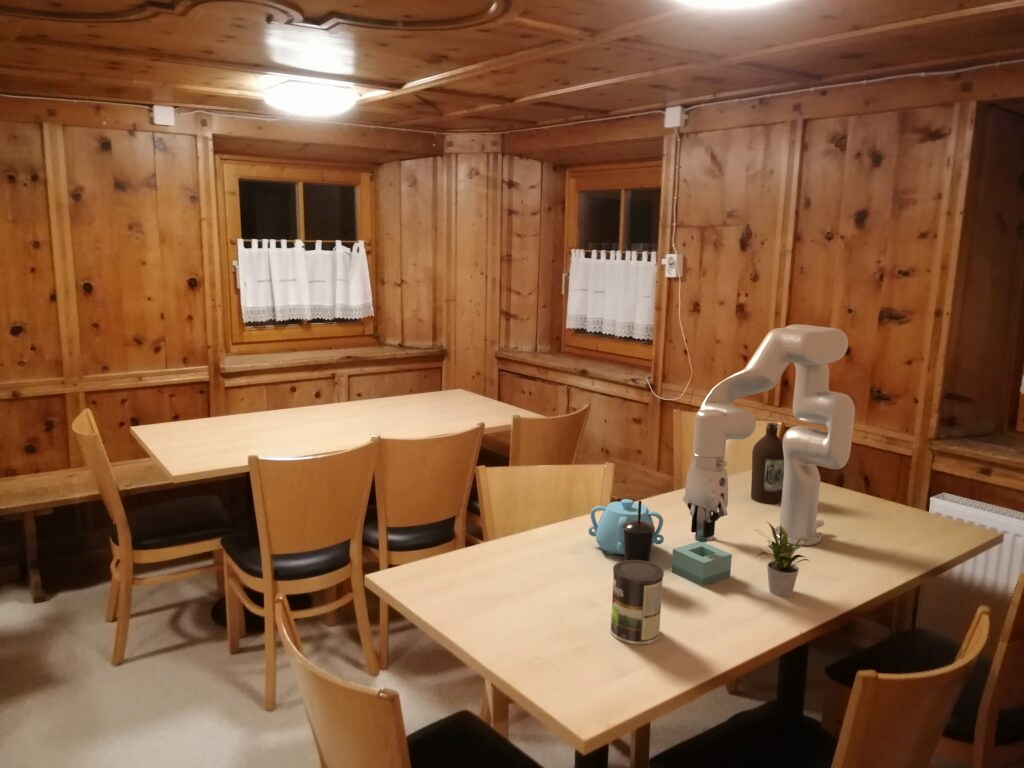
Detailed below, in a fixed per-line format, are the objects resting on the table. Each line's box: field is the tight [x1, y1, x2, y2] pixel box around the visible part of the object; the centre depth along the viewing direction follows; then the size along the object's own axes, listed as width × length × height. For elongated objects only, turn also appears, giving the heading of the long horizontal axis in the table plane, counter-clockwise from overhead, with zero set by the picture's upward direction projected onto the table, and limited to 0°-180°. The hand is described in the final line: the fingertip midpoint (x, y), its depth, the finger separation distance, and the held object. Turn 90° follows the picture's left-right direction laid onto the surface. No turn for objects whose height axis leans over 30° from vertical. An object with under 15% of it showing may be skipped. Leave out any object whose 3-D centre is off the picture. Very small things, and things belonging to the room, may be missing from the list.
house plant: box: [754, 520, 815, 597], centre depth 184 cm, size 14×14×16 cm
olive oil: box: [750, 422, 784, 505], centre depth 249 cm, size 11×11×25 cm
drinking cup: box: [623, 500, 656, 562], centre depth 188 cm, size 8×8×20 cm
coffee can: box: [610, 559, 665, 646], centre depth 163 cm, size 10×10×14 cm
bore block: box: [671, 541, 733, 587], centre depth 193 cm, size 10×10×6 cm
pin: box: [694, 506, 710, 543], centre depth 191 cm, size 3×3×10 cm
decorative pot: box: [588, 498, 665, 556], centre depth 207 cm, size 16×16×14 cm
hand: (702, 533), depth 191 cm, fingers closed on pin, 3 cm apart
